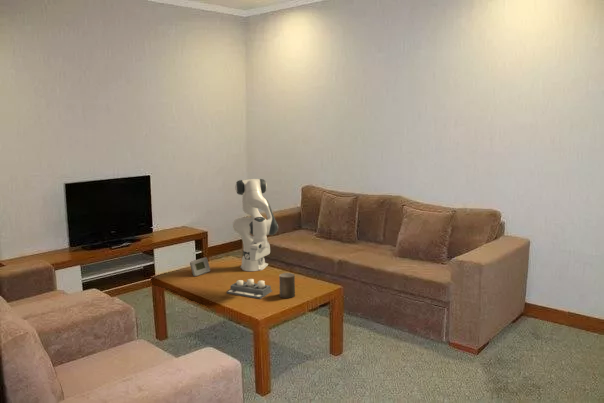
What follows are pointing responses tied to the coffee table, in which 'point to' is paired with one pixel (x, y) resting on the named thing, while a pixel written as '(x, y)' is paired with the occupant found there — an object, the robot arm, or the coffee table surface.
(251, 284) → the button
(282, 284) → the pillar candle
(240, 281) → the button
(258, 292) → the board
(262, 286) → the button
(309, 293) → the coffee table surface
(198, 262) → the digital clock
